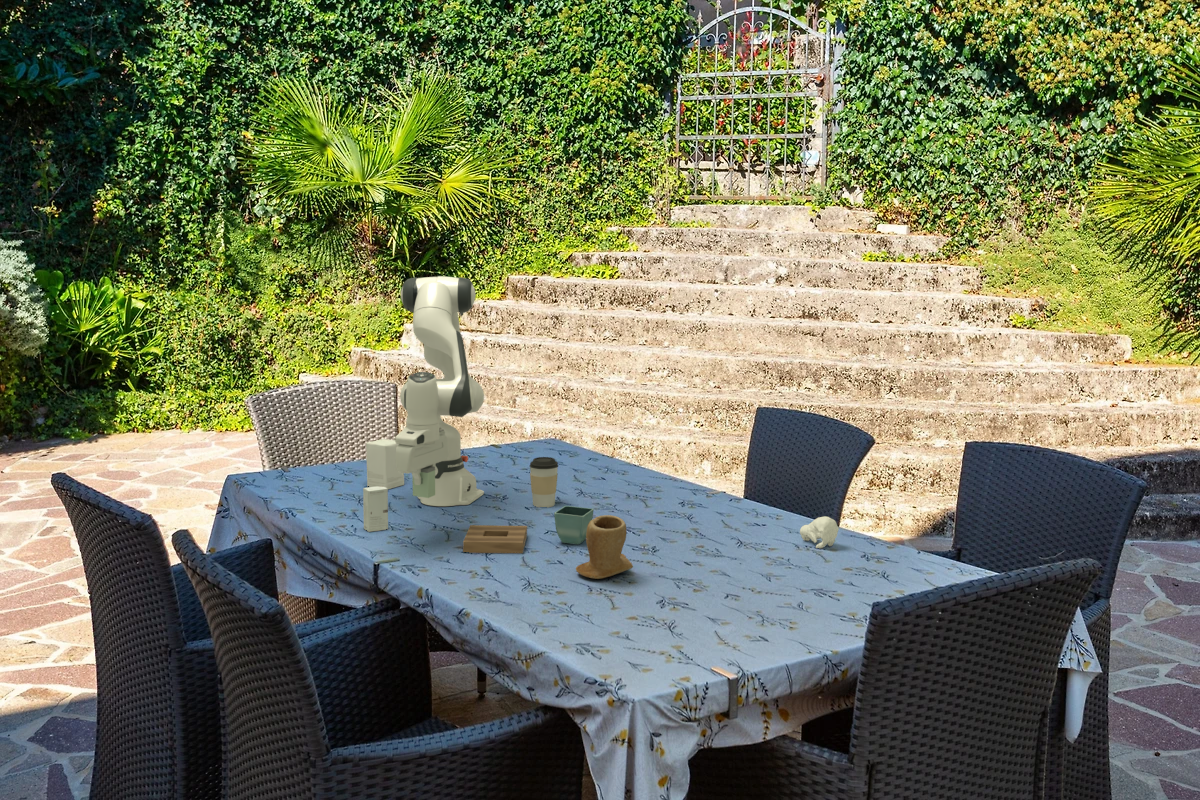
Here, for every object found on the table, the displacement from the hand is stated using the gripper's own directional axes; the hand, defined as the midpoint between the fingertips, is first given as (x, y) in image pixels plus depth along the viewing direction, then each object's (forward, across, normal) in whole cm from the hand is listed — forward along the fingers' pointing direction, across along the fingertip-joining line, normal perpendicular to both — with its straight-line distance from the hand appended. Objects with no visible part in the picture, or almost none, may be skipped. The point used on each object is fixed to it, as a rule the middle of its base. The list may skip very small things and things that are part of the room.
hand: (423, 482), depth 297 cm
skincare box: (+17, -5, -20) cm, 27 cm away
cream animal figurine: (+17, -49, +97) cm, 110 cm away
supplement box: (+18, -48, -48) cm, 70 cm away
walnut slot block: (+17, -8, +18) cm, 26 cm away
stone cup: (+17, +1, +56) cm, 59 cm away
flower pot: (+17, -20, +36) cm, 45 cm away
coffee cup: (+18, -51, +10) cm, 55 cm away
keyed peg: (+4, 0, 0) cm, 4 cm away
